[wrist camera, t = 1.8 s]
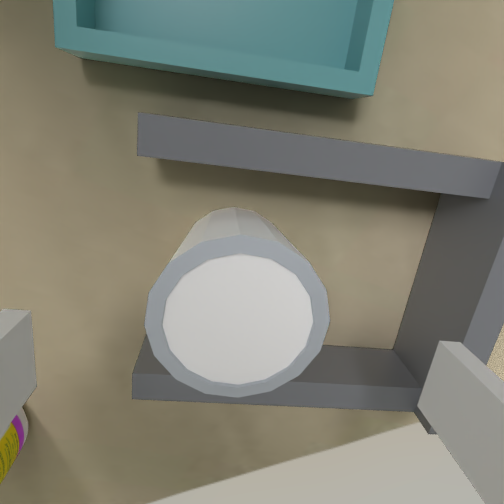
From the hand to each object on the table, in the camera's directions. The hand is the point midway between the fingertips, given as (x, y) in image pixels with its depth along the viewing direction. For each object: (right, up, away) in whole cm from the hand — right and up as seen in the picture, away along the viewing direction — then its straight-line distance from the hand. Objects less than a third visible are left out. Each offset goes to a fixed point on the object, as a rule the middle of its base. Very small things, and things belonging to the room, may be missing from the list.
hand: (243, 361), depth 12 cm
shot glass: (-1, +3, +8) cm, 9 cm away
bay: (+3, +3, +8) cm, 9 cm away
